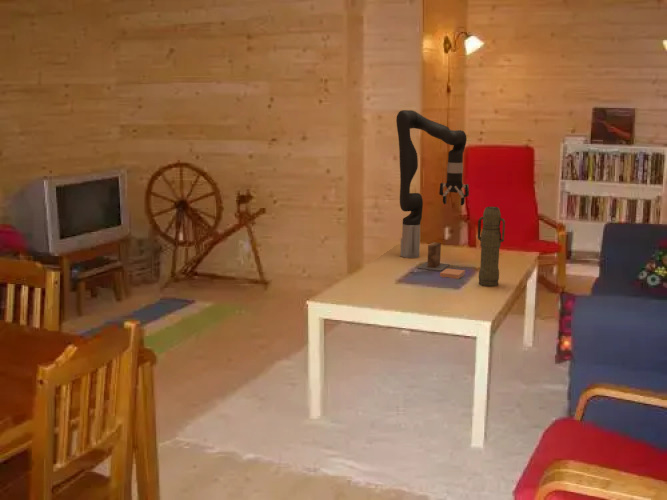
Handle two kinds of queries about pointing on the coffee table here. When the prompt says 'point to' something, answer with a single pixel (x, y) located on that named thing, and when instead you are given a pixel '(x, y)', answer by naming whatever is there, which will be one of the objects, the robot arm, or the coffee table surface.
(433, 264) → the tall wooden block
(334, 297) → the coffee table surface
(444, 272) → the tile
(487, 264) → the olive canister
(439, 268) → the rest mat
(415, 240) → the robot arm
